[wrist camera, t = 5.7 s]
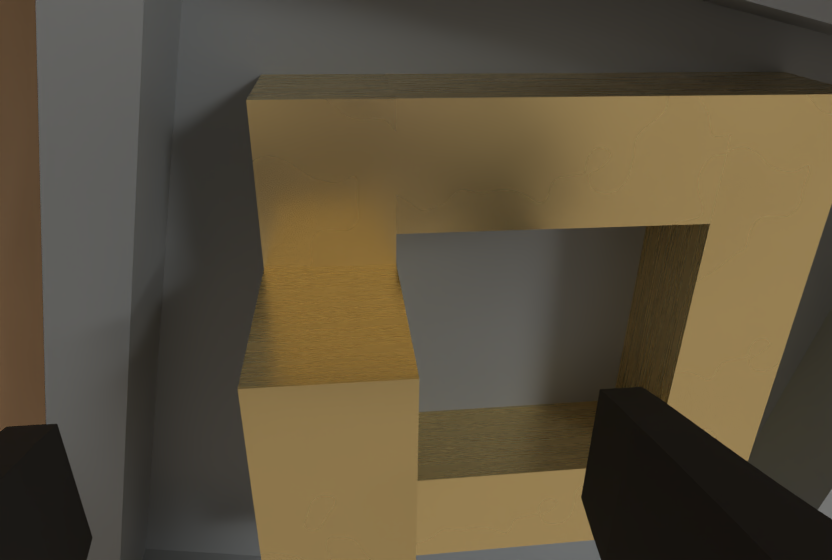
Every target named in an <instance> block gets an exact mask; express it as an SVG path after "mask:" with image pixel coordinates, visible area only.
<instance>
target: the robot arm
mask: <svg viewBox="0 0 832 560" xmlns="http://www.w3.org/2000/svg"><path fill="white" fill-rule="evenodd" d="M581 499H582V502H583V506H584V509H585V512H586V515H587V519H588V522H589V525H590V528H591V531H592V535H593V538H594V541H595V544H596V547H597V549H598V552H599V555H600V558H601V560H832V519H831V518H829V517H828V516H826V515H825V514H823V513H822V512H820V511H819V510H817V509H816V508H814V507H813V506H811V505H810V504H808V503H807V502H805V501H804V500H802V499H801V498H799V497H798V496H796V495H795V494H793V493H792V492H790V491H789V490H788V489H786V488H785V487H783V486H782V485H780V484H779V483H777V482H776V481H774V480H773V479H772V478H770V477H769V476H767V475H766V474H764V473H763V472H762V471H760V470H759V469H757V468H756V467H754V466H753V465H752V464H750V463H749V462H747V461H746V460H745V459H743V458H742V457H740V456H739V455H738V454H736V453H735V452H733V451H732V450H731V449H729V448H728V447H726V446H725V445H724V444H722V443H721V442H720V441H718V440H717V439H715V438H714V437H713V436H711V435H710V434H709V433H707V432H706V431H704V430H703V429H702V428H700V427H699V426H697V425H696V424H695V423H693V422H692V421H691V420H689V419H688V418H686V417H685V416H684V415H682V414H681V413H679V412H678V411H677V410H675V409H674V408H672V407H671V406H670V405H668V404H667V403H665V402H664V401H663V400H661V399H660V398H658V397H657V396H655V395H654V394H652V393H651V392H649V391H648V390H646V389H645V388H643V387H628V388H612V389H600V391H599V397H598V402H597V408H596V414H595V420H594V426H593V431H592V437H591V443H590V449H589V455H588V460H587V466H586V472H585V478H584V484H583V489H582V495H581ZM92 538H93V537H92V534H91V531H90V528H89V524H88V521H87V518H86V515H85V512H84V508H83V505H82V502H81V499H80V495H79V492H78V489H77V486H76V482H75V479H74V476H73V473H72V470H71V466H70V463H69V460H68V457H67V453H66V450H65V447H64V444H63V440H62V437H61V434H60V431H59V428H58V424H44V425H28V426H12V427H6V428H5V429H3V430H2V431H0V560H87V557H88V553H89V550H90V546H91V542H92Z"/></svg>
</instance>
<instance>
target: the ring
mask: <svg viewBox="0 0 832 560" xmlns="http://www.w3.org/2000/svg"><path fill="white" fill-rule="evenodd" d="M246 104H247V113H248V123H249V132H250V142H251V151H252V161H253V170H254V180H255V189H256V199H257V208H258V218H259V227H260V237H261V246H262V256H263V265H264V271H263V276H262V280H261V285H260V289H259V294H258V298H257V303H256V307H255V312H254V316H253V321H252V326H251V330H250V335H249V339H248V344H247V348H246V353H245V357H244V362H243V367H242V371H241V376H240V380H239V385H238V396H239V403H240V410H241V418H242V425H243V432H244V439H245V446H246V454H247V461H248V468H249V475H250V482H251V489H252V497H253V504H254V511H255V518H256V525H257V532H258V540H259V547H260V554H261V560H416V556H417V555H428V554H440V553H451V552H463V551H474V550H486V549H497V548H509V547H520V546H532V545H543V544H555V543H566V542H578V541H589V540H594V538H593V535H592V531H591V528H590V525H589V522H588V519H587V515H586V512H585V509H584V506H583V502H582V499H581V495H582V489H583V484H584V478H585V472H586V466H587V460H588V455H589V449H590V443H591V437H592V431H593V426H594V420H595V414H596V408H597V402H598V401H587V402H571V403H555V404H539V405H523V406H507V407H491V408H475V409H459V410H443V411H427V412H419V374H418V369H417V364H416V359H415V354H414V349H413V345H412V340H411V335H410V330H409V325H408V320H407V315H406V310H405V305H404V300H403V295H402V290H401V285H400V280H399V275H398V270H397V265H396V234H414V233H445V232H476V231H506V230H537V229H568V228H599V227H630V226H646V230H645V235H644V240H643V246H642V251H641V256H640V261H639V267H638V272H637V277H636V282H635V288H634V293H633V298H632V304H631V309H630V314H629V319H628V325H627V330H626V335H625V340H624V346H623V351H622V356H621V361H620V367H619V372H618V377H617V383H616V388H628V387H643V388H645V389H646V390H648V391H649V392H651V393H652V394H654V395H655V396H657V397H658V398H660V399H661V400H663V401H664V402H665V403H667V404H668V405H670V406H671V407H672V408H674V409H675V410H677V411H678V412H679V413H681V414H682V415H684V416H685V417H686V418H688V419H689V420H691V421H692V422H693V423H695V424H696V425H697V426H699V427H700V428H702V429H703V430H704V431H706V432H707V433H709V434H710V435H711V436H713V437H714V438H715V439H717V440H718V441H720V442H721V443H722V444H724V445H725V446H726V447H728V448H729V449H731V450H732V451H733V452H735V453H736V454H738V455H739V456H740V457H742V458H743V459H745V460H746V461H747V462H748V459H749V456H750V453H751V450H752V447H753V444H754V441H755V438H756V435H757V432H758V429H759V426H760V423H761V419H762V416H763V413H764V410H765V407H766V404H767V401H768V398H769V395H770V392H771V389H772V386H773V383H774V380H775V377H776V373H777V370H778V367H779V364H780V361H781V358H782V355H783V352H784V349H785V346H786V343H787V340H788V337H789V334H790V330H791V327H792V324H793V321H794V318H795V315H796V312H797V309H798V306H799V303H800V300H801V297H802V294H803V291H804V287H805V284H806V281H807V278H808V275H809V272H810V269H811V266H812V263H813V260H814V257H815V254H816V251H817V248H818V245H819V241H820V238H821V235H822V232H823V229H824V226H825V223H826V220H827V217H828V214H829V211H830V208H831V205H832V84H828V83H824V82H820V81H817V80H813V79H809V78H805V77H802V76H798V75H794V74H790V73H787V72H641V73H460V74H278V75H261V76H260V77H259V79H258V81H257V82H256V84H255V86H254V88H253V89H252V91H251V93H250V94H249V96H248V98H247V99H246Z"/></svg>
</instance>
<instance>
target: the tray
mask: <svg viewBox="0 0 832 560" xmlns="http://www.w3.org/2000/svg"><path fill="white" fill-rule="evenodd" d="M36 40H37V81H38V122H39V162H40V203H41V244H42V284H43V325H44V365H45V406H46V424H58V428H59V431H60V434H61V437H62V440H63V444H64V447H65V450H66V453H67V457H68V460H69V463H70V466H71V470H72V473H73V476H74V479H75V482H76V486H77V489H78V492H79V495H80V499H81V502H82V505H83V508H84V512H85V515H86V518H87V521H88V524H89V528H90V531H91V534H92V537H93V538H92V542H91V546H90V550H89V553H88V557H87V560H261V554H260V547H259V540H258V532H257V525H256V518H255V511H254V504H253V497H252V489H251V482H250V475H249V468H248V461H247V454H246V446H245V439H244V432H243V425H242V418H241V410H240V403H239V396H238V385H239V380H240V376H241V371H242V367H243V362H244V357H245V353H246V348H247V344H248V339H249V335H250V330H251V326H252V321H253V316H254V312H255V307H256V303H257V298H258V294H259V289H260V285H261V280H262V276H263V271H264V265H263V256H262V246H261V237H260V227H259V218H258V208H257V199H256V189H255V180H254V170H253V161H252V151H251V142H250V132H249V123H248V113H247V104H246V99H247V98H248V96H249V94H250V93H251V91H252V89H253V88H254V86H255V84H256V82H257V81H258V79H259V77H260V76H261V75H278V74H460V73H641V72H787V73H790V74H794V75H798V76H802V77H805V78H809V79H813V80H817V81H820V82H824V83H828V84H832V0H36ZM645 230H646V226H630V227H599V228H568V229H537V230H506V231H476V232H445V233H414V234H396V265H397V270H398V275H399V280H400V285H401V290H402V295H403V300H404V305H405V310H406V315H407V320H408V325H409V330H410V335H411V340H412V345H413V349H414V354H415V359H416V364H417V369H418V374H419V412H427V411H443V410H459V409H475V408H491V407H507V406H523V405H539V404H555V403H571V402H587V401H598V397H599V391H600V389H612V388H616V383H617V377H618V372H619V367H620V361H621V356H622V351H623V346H624V340H625V335H626V330H627V325H628V319H629V314H630V309H631V304H632V298H633V293H634V288H635V282H636V277H637V272H638V267H639V261H640V256H641V251H642V246H643V240H644V235H645ZM748 462H749V463H750V464H752V465H753V466H754V467H756V468H757V469H759V470H760V471H762V472H763V473H764V474H766V475H767V476H769V477H770V478H772V479H773V480H774V481H776V482H777V483H779V484H780V485H782V486H783V487H785V488H786V489H788V490H789V491H790V492H792V493H793V494H795V495H796V496H798V497H799V498H801V499H802V500H804V501H805V502H807V503H808V504H810V505H811V506H813V507H814V508H816V509H817V510H819V511H820V512H822V513H823V514H825V515H826V516H828V517H829V518H831V519H832V205H831V208H830V211H829V214H828V217H827V220H826V223H825V226H824V229H823V232H822V235H821V238H820V241H819V245H818V248H817V251H816V254H815V257H814V260H813V263H812V266H811V269H810V272H809V275H808V278H807V281H806V284H805V287H804V291H803V294H802V297H801V300H800V303H799V306H798V309H797V312H796V315H795V318H794V321H793V324H792V327H791V330H790V334H789V337H788V340H787V343H786V346H785V349H784V352H783V355H782V358H781V361H780V364H779V367H778V370H777V373H776V377H775V380H774V383H773V386H772V389H771V392H770V395H769V398H768V401H767V404H766V407H765V410H764V413H763V416H762V419H761V423H760V426H759V429H758V432H757V435H756V438H755V441H754V444H753V447H752V450H751V453H750V456H749V459H748ZM416 560H601V558H600V555H599V552H598V549H597V547H596V544H595V541H594V540H589V541H578V542H566V543H555V544H543V545H532V546H520V547H509V548H497V549H486V550H474V551H463V552H451V553H440V554H428V555H417V556H416Z"/></svg>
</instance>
